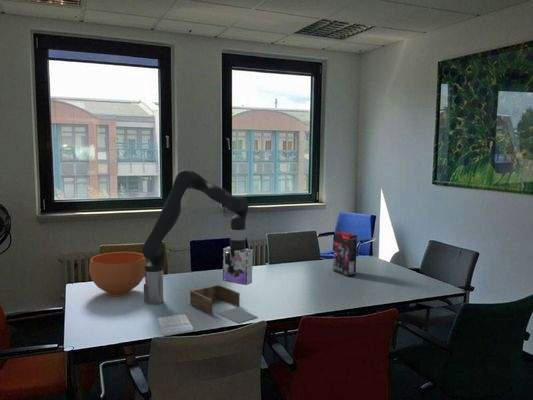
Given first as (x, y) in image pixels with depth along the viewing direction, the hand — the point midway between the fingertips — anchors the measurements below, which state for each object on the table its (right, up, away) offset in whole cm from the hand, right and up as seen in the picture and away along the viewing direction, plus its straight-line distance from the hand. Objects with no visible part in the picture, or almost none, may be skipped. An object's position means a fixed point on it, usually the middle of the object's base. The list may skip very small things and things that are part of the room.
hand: (237, 271), depth 217 cm
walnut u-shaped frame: (-13, -20, +16) cm, 29 cm away
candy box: (0, -5, 0) cm, 5 cm away
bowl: (-69, -18, +34) cm, 79 cm away
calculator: (-28, -24, -11) cm, 38 cm away
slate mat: (0, -22, +2) cm, 22 cm away
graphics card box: (+66, -15, +82) cm, 107 cm away
